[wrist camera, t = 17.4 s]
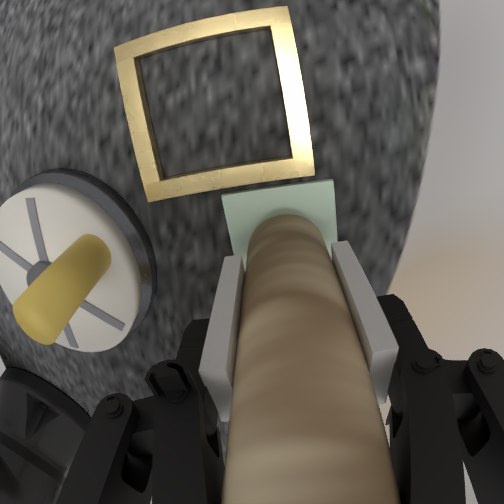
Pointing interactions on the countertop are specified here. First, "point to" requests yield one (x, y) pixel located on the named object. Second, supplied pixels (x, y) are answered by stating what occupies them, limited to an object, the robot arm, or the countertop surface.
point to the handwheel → (67, 269)
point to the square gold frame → (229, 174)
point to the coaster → (280, 210)
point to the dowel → (301, 383)
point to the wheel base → (120, 216)
